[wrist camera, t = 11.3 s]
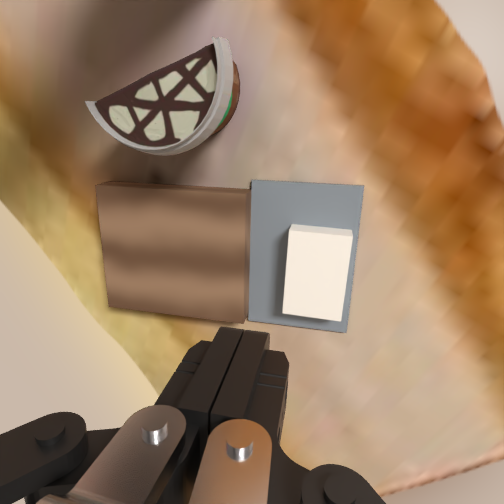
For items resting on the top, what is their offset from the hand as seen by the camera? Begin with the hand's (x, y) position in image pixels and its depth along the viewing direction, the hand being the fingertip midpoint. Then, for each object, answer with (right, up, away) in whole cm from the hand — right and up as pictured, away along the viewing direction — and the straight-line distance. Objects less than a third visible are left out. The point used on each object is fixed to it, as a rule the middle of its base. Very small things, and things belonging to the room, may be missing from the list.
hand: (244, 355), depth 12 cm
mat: (+6, +3, +28) cm, 29 cm away
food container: (-4, +17, +26) cm, 31 cm away
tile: (+7, +1, +27) cm, 28 cm away
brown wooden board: (-8, +4, +31) cm, 32 cm away
